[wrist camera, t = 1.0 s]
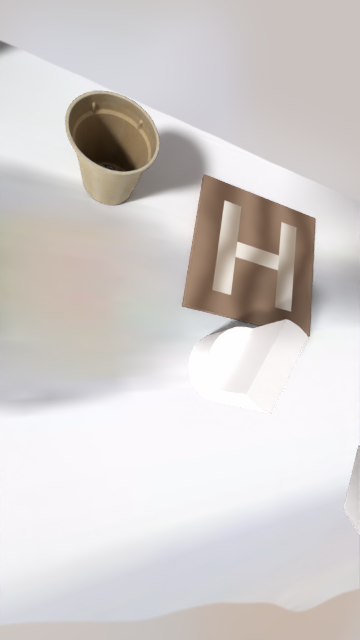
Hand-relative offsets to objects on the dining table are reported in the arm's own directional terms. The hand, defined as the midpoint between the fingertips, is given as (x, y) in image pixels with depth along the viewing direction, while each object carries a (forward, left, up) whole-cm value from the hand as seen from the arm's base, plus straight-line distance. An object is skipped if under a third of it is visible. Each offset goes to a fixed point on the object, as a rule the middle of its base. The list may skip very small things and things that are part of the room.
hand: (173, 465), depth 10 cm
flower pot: (-24, +14, -24) cm, 36 cm away
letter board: (-6, +28, -23) cm, 37 cm away
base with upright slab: (+4, +14, -24) cm, 28 cm away
